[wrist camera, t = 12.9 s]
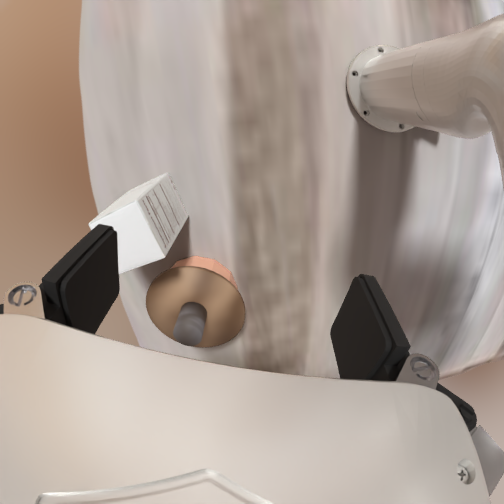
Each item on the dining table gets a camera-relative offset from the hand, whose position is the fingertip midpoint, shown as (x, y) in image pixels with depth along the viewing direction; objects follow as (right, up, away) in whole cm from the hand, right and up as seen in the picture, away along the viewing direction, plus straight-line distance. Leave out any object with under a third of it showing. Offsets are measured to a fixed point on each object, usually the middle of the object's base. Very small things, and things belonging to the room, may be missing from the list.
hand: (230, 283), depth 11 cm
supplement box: (-13, +8, +31) cm, 34 cm away
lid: (-8, -7, +32) cm, 34 cm away
